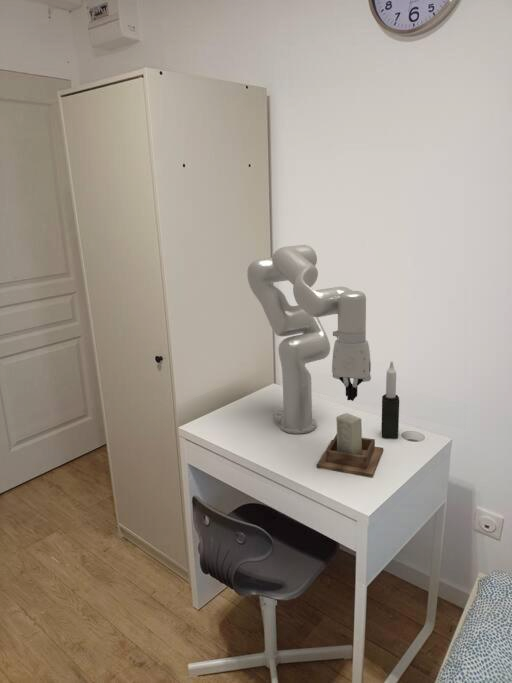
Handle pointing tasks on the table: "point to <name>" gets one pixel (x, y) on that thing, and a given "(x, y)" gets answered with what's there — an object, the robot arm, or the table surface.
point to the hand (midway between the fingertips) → (351, 398)
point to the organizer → (352, 459)
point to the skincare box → (349, 434)
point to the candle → (390, 406)
